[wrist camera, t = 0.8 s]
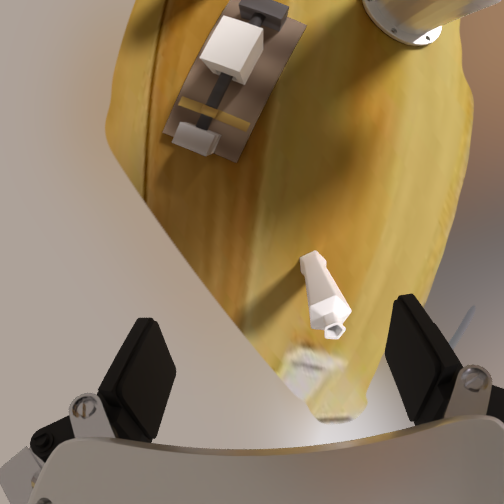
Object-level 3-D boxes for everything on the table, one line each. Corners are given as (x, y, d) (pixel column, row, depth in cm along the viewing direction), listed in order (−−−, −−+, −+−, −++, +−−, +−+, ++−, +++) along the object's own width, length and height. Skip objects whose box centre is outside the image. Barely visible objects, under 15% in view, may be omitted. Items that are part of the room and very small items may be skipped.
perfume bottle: (332, 250, 39) (364, 313, 25) (324, 278, 41) (349, 348, 27) (300, 245, 39) (318, 308, 25) (293, 274, 41) (306, 344, 27)
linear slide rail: (232, 2, 26) (227, -20, 20) (305, 29, 28) (313, 10, 22) (166, 132, 34) (147, 133, 28) (237, 161, 35) (232, 167, 29)
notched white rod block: (231, 38, 26) (223, 15, 20) (263, 49, 27) (263, 28, 20) (212, 73, 28) (199, 57, 21) (244, 85, 29) (239, 72, 22)
